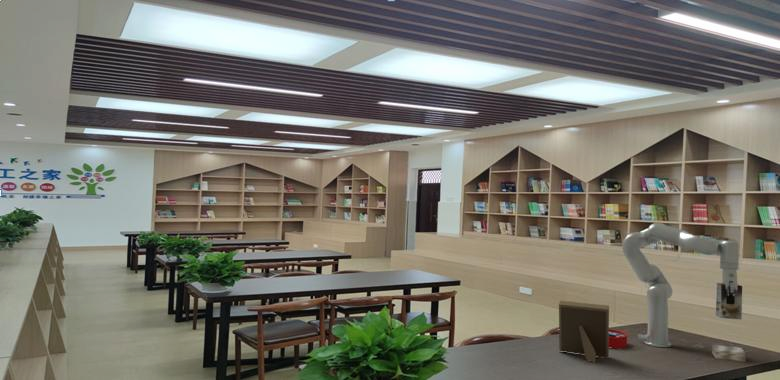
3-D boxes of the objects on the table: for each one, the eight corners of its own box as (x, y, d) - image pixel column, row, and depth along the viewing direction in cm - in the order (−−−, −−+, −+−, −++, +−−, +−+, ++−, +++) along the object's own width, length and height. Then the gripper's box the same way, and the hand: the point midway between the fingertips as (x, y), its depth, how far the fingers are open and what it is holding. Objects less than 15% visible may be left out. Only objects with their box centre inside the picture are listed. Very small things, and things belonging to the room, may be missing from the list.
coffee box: (720, 318, 252) (721, 284, 253) (715, 315, 259) (715, 282, 259) (742, 319, 250) (742, 285, 251) (736, 317, 257) (736, 284, 257)
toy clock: (584, 326, 286) (624, 330, 281) (584, 337, 286) (624, 341, 280) (587, 334, 267) (629, 338, 262) (586, 346, 267) (629, 350, 261)
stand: (715, 358, 251) (715, 349, 251) (712, 352, 261) (712, 344, 261) (745, 361, 246) (745, 353, 247) (740, 356, 257) (740, 347, 257)
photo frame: (560, 350, 257) (561, 298, 258) (608, 356, 248) (609, 303, 249) (556, 357, 244) (557, 303, 244) (607, 365, 235) (608, 309, 235)
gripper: (742, 268, 246) (741, 306, 245) (734, 265, 262) (734, 300, 261) (723, 267, 249) (723, 304, 248) (717, 263, 265) (716, 299, 264)
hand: (728, 302), depth 255 cm, fingers closed on coffee box, 7 cm apart
